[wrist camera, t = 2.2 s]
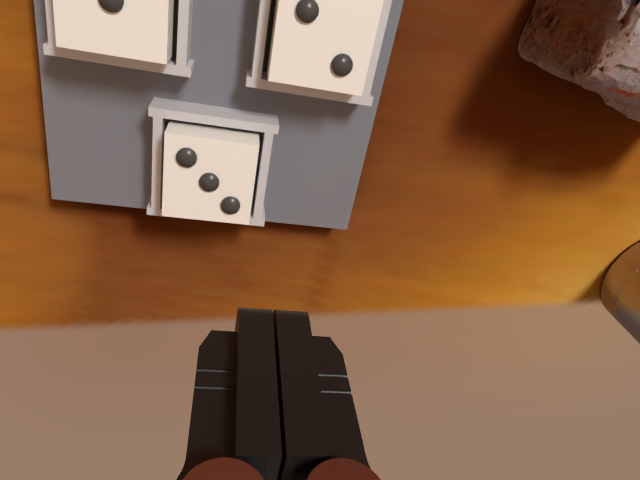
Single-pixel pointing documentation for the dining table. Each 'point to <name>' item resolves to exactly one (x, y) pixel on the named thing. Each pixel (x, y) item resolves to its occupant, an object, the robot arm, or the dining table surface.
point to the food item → (589, 47)
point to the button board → (206, 114)
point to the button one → (116, 27)
